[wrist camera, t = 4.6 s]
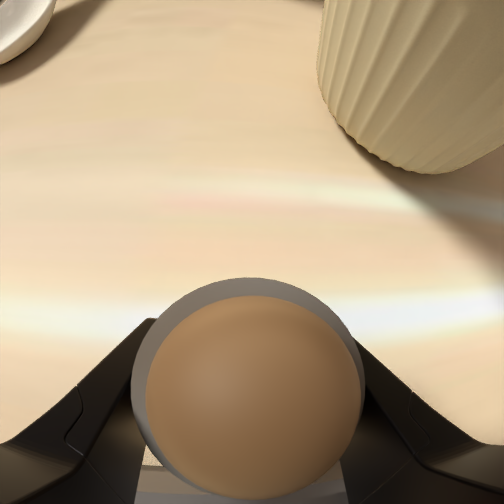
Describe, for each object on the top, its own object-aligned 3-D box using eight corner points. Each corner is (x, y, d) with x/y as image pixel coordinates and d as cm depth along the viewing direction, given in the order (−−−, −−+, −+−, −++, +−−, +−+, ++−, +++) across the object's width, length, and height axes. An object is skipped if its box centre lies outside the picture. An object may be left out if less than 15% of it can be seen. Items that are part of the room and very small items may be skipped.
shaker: (283, 407, 15) (417, 520, 3) (188, 412, 15) (116, 554, 3) (277, 315, 17) (410, 237, 5) (183, 319, 16) (84, 248, 4)
